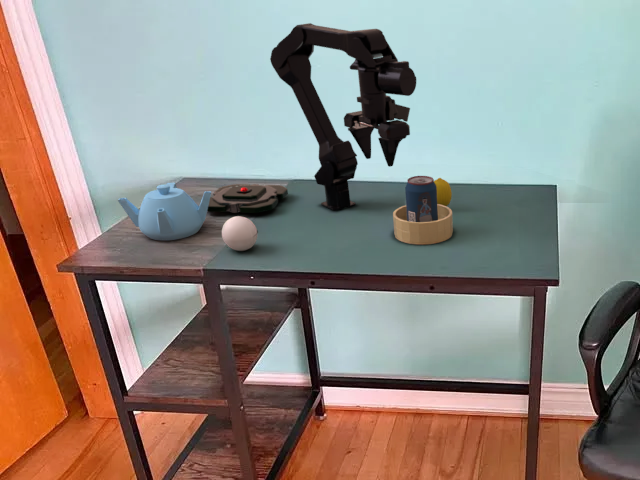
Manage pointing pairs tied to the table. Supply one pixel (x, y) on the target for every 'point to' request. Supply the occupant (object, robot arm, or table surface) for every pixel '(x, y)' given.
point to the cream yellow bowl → (423, 227)
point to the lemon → (443, 192)
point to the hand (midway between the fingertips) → (379, 162)
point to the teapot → (168, 213)
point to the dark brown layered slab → (246, 198)
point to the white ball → (239, 233)
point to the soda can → (421, 199)
